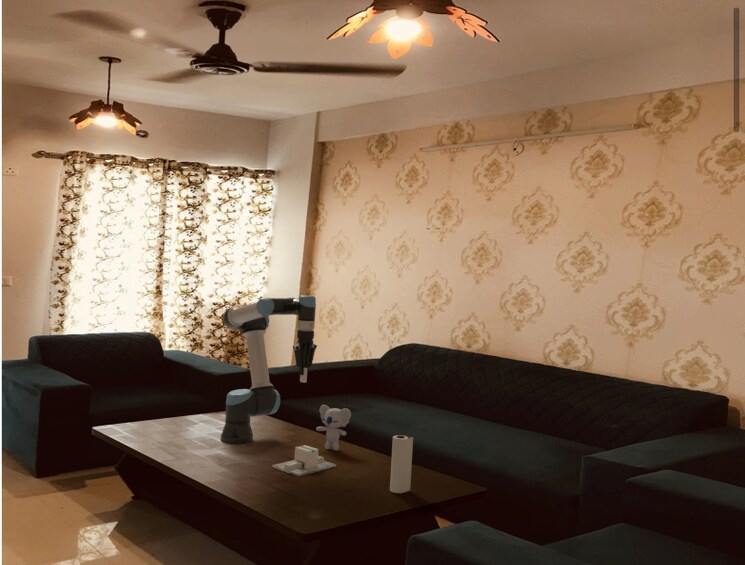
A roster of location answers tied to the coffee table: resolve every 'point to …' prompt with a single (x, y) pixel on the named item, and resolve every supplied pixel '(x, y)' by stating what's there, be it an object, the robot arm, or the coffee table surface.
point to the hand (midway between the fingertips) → (303, 382)
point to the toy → (333, 424)
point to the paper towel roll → (401, 464)
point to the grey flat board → (300, 470)
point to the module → (307, 455)
